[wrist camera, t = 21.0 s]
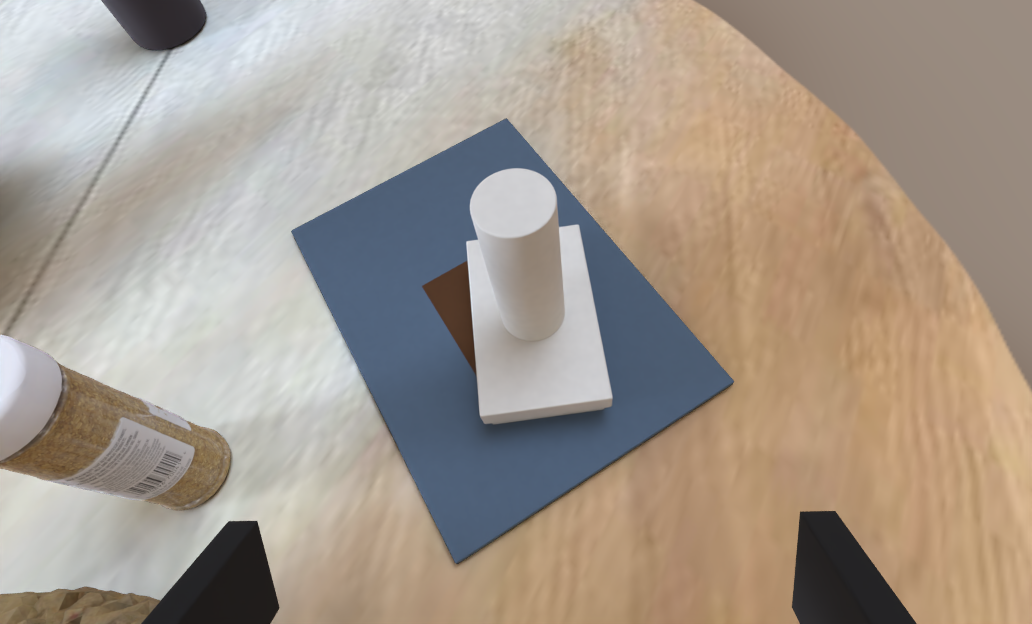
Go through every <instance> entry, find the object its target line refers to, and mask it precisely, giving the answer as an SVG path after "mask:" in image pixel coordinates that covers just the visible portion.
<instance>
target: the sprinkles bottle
mask: <svg viewBox="0 0 1032 624" xmlns="http://www.w3.org/2000/svg"><path fill="white" fill-rule="evenodd" d="M229 464H230V449H229V447H228V444H227V442H226V441H225V439H224V438H223V437H222V436H221V435H220V434H219V433H218V432H216V431H215V430H212V429H209V428H205V427H200V426H197V425H195V424H193V423H191V422H188V421H186V420H185V419H183V418H182V417H180V416H178V415H176V414H174V413H171V412H169V411H167V410H165V409H163V408H160V407H158V406H156V405H153V404H151V403H149V402H147V401H145V400H142V399H139V398H136V397H132V396H130V395H128V394H126V393H124V392H121V391H118V390H116V389H113V388H111V387H109V386H107V385H104V384H102V383H100V382H98V381H96V380H94V379H92V378H89V377H87V376H84V375H82V374H79V373H77V372H75V371H73V370H70V369H68V368H65V367H64V366H62V365H60V364H59V363H57V362H56V361H55V360H54V358H53V357H51V356H50V355H49V354H47V353H46V352H44V351H42V350H39V349H37V348H35V347H33V346H31V345H28V344H26V343H23V342H21V341H19V340H16V339H14V338H11V337H8V336H5V335H0V469H6V470H10V471H13V472H17V473H22V474H26V475H31V476H34V477H37V478H39V479H42V480H46V481H50V482H55V483H59V484H64V485H68V486H72V487H77V488H81V489H86V490H90V491H95V492H99V493H104V494H108V495H113V496H117V497H122V498H126V499H131V500H143V501H147V502H152V503H156V504H160V505H161V506H163V507H165V508H168V509H172V510H186V509H191V508H194V507H197V506H198V505H200V504H202V503H203V502H205V501H206V500H208V499H209V498H210V497H211V496H212V495H214V493H215V492H216V491H217V490H218V488H219V487H220V486H221V484H222V483H223V482H224V480H225V477H226V475H227V473H228V470H229Z"/></svg>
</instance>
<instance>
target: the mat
mask: <svg viewBox="0 0 1032 624" xmlns="http://www.w3.org/2000/svg"><path fill="white" fill-rule="evenodd" d="M513 168H521V169H528V170H532V171H535V172H537V173H539V174H541V175H542V176H544V177H545V178H546V179H547V180H548V181H549V182H550V183H551V184H552V186H553V187H554V190H555V192H556V196H557V208H558V222H559V227H564V226H571V225H577V224H578V225H579V228H580V233H581V238H582V243H583V248H584V253H585V258H586V263H587V268H588V274H589V279H590V284H591V289H592V294H593V299H594V304H595V309H596V314H597V319H598V325H599V330H600V335H601V340H602V345H603V350H604V355H605V360H606V365H607V371H608V376H609V381H610V386H611V391H612V396H613V399H612V406H611V407H607V408H604V410H596V411H589V412H582V413H575V414H567V415H560V416H553V417H545V418H538V419H531V420H523V421H516V422H509V423H501V424H494V425H493V424H492V423H490V424H484V422H483V421H482V419H481V417H480V412H479V399H478V387H477V374H476V361H475V348H474V335H473V322H472V309H471V296H470V283H469V271H468V258H467V245H466V243H467V241H473V240H478V237H477V234H476V231H475V227H474V224H473V220H472V217H471V214H470V200H471V197H472V195H473V192H474V191H475V189H476V188H477V186H478V185H479V184H480V183H481V182H482V181H483V180H484V179H486V178H487V177H488V176H490V175H492V174H494V173H496V172H499V171H502V170H506V169H513ZM291 232H292V234H293V236H294V238H295V240H296V242H297V244H298V246H299V248H300V250H301V252H302V254H303V256H304V258H305V260H306V262H307V264H308V266H309V268H310V270H311V273H312V275H313V277H314V279H315V281H316V283H317V285H318V287H319V289H320V291H321V293H322V295H323V297H324V299H325V301H326V303H327V305H328V307H329V309H330V311H331V313H332V315H333V317H334V319H335V321H336V323H337V325H338V327H339V329H340V331H341V333H342V335H343V337H344V339H345V341H346V343H347V345H348V347H349V349H350V351H351V353H352V355H353V357H354V359H355V361H356V363H357V365H358V368H359V370H360V372H361V374H362V376H363V378H364V380H365V382H366V384H367V386H368V388H369V390H370V392H371V394H372V396H373V398H374V400H375V402H376V404H377V406H378V408H379V410H380V412H381V414H382V416H383V418H384V420H385V422H386V424H387V426H388V428H389V430H390V432H391V434H392V436H393V438H394V440H395V442H396V444H397V446H398V448H399V450H400V452H401V454H402V456H403V458H404V461H405V463H406V465H407V467H408V469H409V471H410V473H411V475H412V477H413V479H414V481H415V483H416V485H417V487H418V489H419V491H420V493H421V495H422V497H423V499H424V501H425V503H426V505H427V507H428V509H429V511H430V513H431V515H432V517H433V519H434V521H435V523H436V525H437V527H438V529H439V531H440V533H441V535H442V537H443V539H444V541H445V543H446V545H447V547H448V549H449V551H450V554H451V556H452V558H453V560H454V562H455V563H456V564H459V563H460V562H462V561H463V560H465V559H466V558H468V557H469V556H471V555H473V554H474V553H476V552H477V551H479V550H480V549H482V548H483V547H485V546H486V545H488V544H489V543H491V542H492V541H494V540H495V539H497V538H499V537H500V536H502V535H503V534H505V533H506V532H508V531H509V530H511V529H512V528H514V527H515V526H517V525H518V524H520V523H521V522H523V521H525V520H526V519H528V518H529V517H531V516H532V515H534V514H535V513H537V512H538V511H540V510H541V509H543V508H544V507H546V506H547V505H549V504H550V503H552V502H554V501H555V500H557V499H558V498H560V497H561V496H563V495H564V494H566V493H567V492H569V491H570V490H572V489H573V488H575V487H576V486H578V485H580V484H581V483H583V482H584V481H586V480H587V479H589V478H590V477H592V476H593V475H595V474H596V473H598V472H599V471H601V470H602V469H604V468H606V467H607V466H609V465H610V464H612V463H613V462H615V461H616V460H618V459H619V458H621V457H622V456H624V455H625V454H627V453H628V452H630V451H632V450H633V449H635V448H636V447H638V446H639V445H641V444H642V443H644V442H645V441H647V440H648V439H650V438H651V437H653V436H654V435H656V434H658V433H659V432H661V431H662V430H664V429H665V428H667V427H668V426H670V425H671V424H673V423H674V422H676V421H677V420H679V419H680V418H682V417H684V416H685V415H687V414H688V413H690V412H691V411H693V410H694V409H696V408H697V407H699V406H700V405H702V404H703V403H705V402H706V401H708V400H710V399H711V398H713V397H714V396H716V395H717V394H719V393H720V392H722V391H723V390H725V389H726V388H728V387H729V386H731V385H732V384H733V383H734V381H733V379H732V378H731V377H730V376H729V375H728V374H727V373H726V371H725V370H724V369H723V368H722V367H721V366H720V364H719V363H718V362H717V361H716V360H715V359H714V357H713V356H712V355H711V354H710V353H709V352H708V351H707V349H706V348H705V347H704V346H703V345H702V344H701V342H700V341H699V340H698V339H697V338H696V337H695V336H694V334H693V333H692V332H691V331H690V330H689V329H688V327H687V326H686V325H685V324H684V323H683V322H682V321H681V319H680V318H679V317H678V316H677V315H676V314H675V312H674V311H673V310H672V309H671V308H670V307H669V305H668V304H667V303H666V302H665V301H664V300H663V299H662V297H661V296H660V295H659V294H658V293H657V292H656V290H655V289H654V288H653V287H652V286H651V285H650V284H649V282H648V281H647V280H646V279H645V278H644V277H643V275H642V274H641V273H640V272H639V271H638V270H637V269H636V267H635V266H634V265H633V264H632V263H631V262H630V260H629V259H628V258H627V257H626V256H625V255H624V253H623V252H622V251H621V250H620V249H619V248H618V247H617V245H616V244H615V243H614V242H613V241H612V240H611V238H610V237H609V236H608V235H607V234H606V233H605V232H604V230H603V229H602V228H601V227H600V226H599V225H598V223H597V222H596V221H595V220H594V219H593V218H592V216H591V215H590V214H589V213H588V212H587V211H586V210H585V208H584V207H583V206H582V205H581V204H580V203H579V201H578V200H577V199H576V198H575V197H574V196H573V195H572V193H571V192H570V191H569V190H568V189H567V188H566V186H565V185H564V184H563V183H562V182H561V181H560V180H559V178H558V177H557V176H556V175H555V174H554V173H553V171H552V170H551V169H550V168H549V167H548V166H547V164H546V163H545V162H544V161H543V160H542V159H541V158H540V156H539V155H538V154H537V153H536V152H535V151H534V149H533V148H532V147H531V146H530V145H529V144H528V143H527V141H526V140H525V139H524V138H523V137H522V136H521V134H520V133H519V132H518V131H517V130H516V129H515V127H514V126H513V125H512V124H511V123H510V122H509V121H508V119H507V118H506V119H504V120H502V121H500V122H498V123H496V124H495V125H493V126H491V127H489V128H487V129H485V130H483V131H481V132H479V133H477V134H475V135H474V136H472V137H470V138H468V139H466V140H464V141H462V142H460V143H458V144H456V145H454V146H452V147H451V148H449V149H447V150H445V151H443V152H441V153H439V154H437V155H435V156H433V157H431V158H429V159H428V160H426V161H424V162H422V163H420V164H418V165H416V166H414V167H412V168H410V169H408V170H406V171H405V172H403V173H401V174H399V175H397V176H395V177H393V178H391V179H389V180H387V181H385V182H384V183H382V184H380V185H378V186H376V187H374V188H372V189H370V190H368V191H366V192H364V193H362V194H361V195H359V196H357V197H355V198H353V199H351V200H349V201H347V202H345V203H343V204H341V205H339V206H338V207H336V208H334V209H332V210H330V211H328V212H326V213H324V214H322V215H320V216H318V217H316V218H315V219H313V220H311V221H309V222H307V223H305V224H303V225H301V226H299V227H297V228H295V229H294V230H292V231H291Z"/></svg>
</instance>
